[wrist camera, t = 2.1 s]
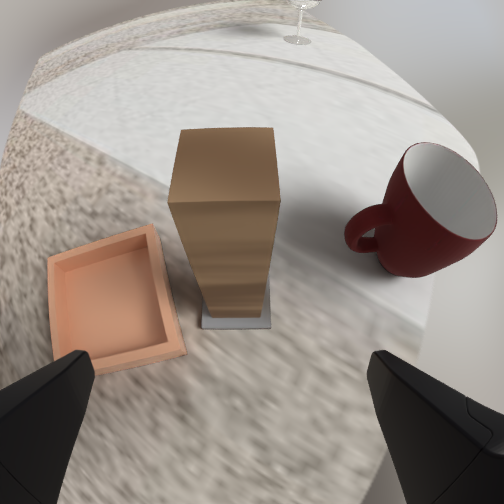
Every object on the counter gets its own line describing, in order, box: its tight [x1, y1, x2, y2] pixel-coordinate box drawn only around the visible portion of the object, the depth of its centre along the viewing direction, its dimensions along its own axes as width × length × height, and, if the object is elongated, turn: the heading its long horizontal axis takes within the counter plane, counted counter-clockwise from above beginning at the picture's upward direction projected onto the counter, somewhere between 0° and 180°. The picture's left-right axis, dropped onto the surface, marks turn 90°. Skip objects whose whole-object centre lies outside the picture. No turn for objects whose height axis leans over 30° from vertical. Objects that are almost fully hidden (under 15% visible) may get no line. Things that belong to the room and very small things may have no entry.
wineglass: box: [284, 0, 321, 45], centre depth 39 cm, size 7×7×12 cm
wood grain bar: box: [168, 127, 281, 329], centre depth 16 cm, size 5×5×14 cm
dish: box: [48, 224, 187, 376], centre depth 21 cm, size 10×10×2 cm
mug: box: [344, 142, 497, 278], centre depth 20 cm, size 11×8×10 cm
